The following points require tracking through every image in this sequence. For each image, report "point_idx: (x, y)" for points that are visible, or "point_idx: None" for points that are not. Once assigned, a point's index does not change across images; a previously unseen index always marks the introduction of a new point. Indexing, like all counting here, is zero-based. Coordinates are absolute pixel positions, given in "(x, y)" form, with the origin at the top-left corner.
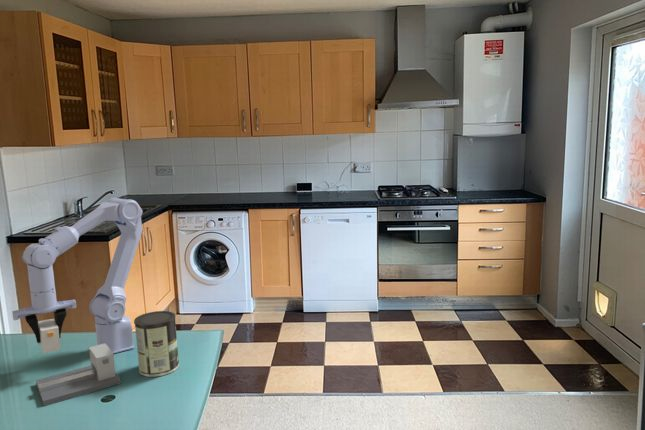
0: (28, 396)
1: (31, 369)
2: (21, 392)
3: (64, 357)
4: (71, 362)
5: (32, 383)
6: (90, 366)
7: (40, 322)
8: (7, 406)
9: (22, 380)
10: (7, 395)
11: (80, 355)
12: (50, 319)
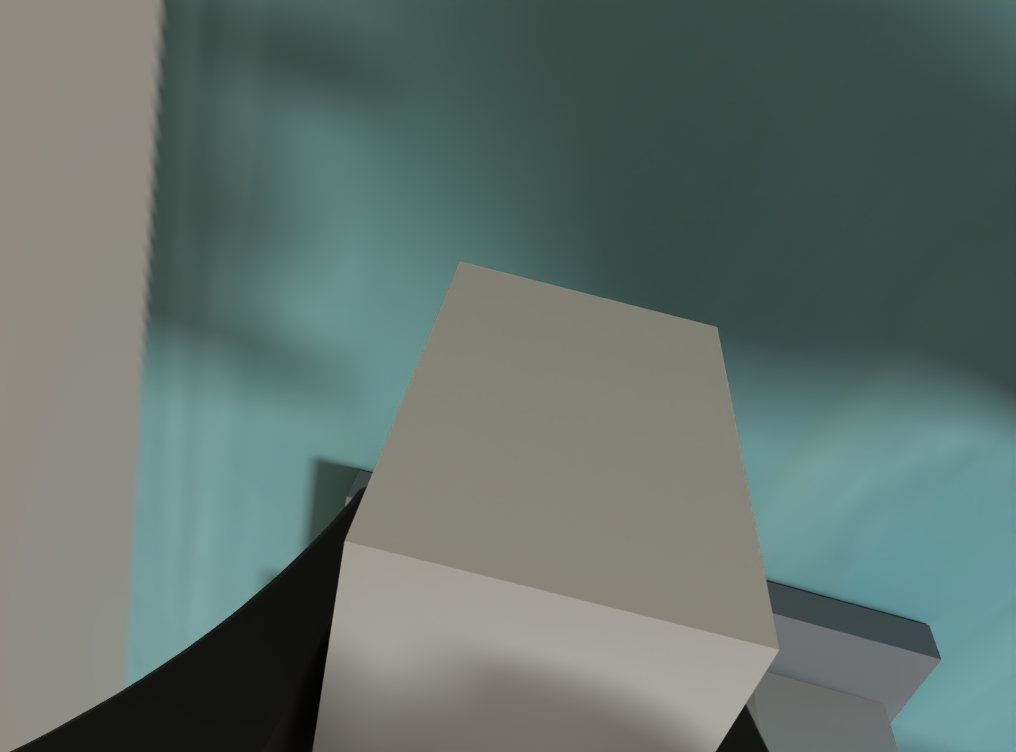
0: (271, 577)
1: (419, 107)
2: (242, 493)
3: (845, 84)
4: (794, 304)
5: (341, 425)
6: (780, 631)
7: (402, 659)
8: (142, 586)
9: (286, 300)
10: (151, 456)
11: (993, 202)
12: (685, 653)
